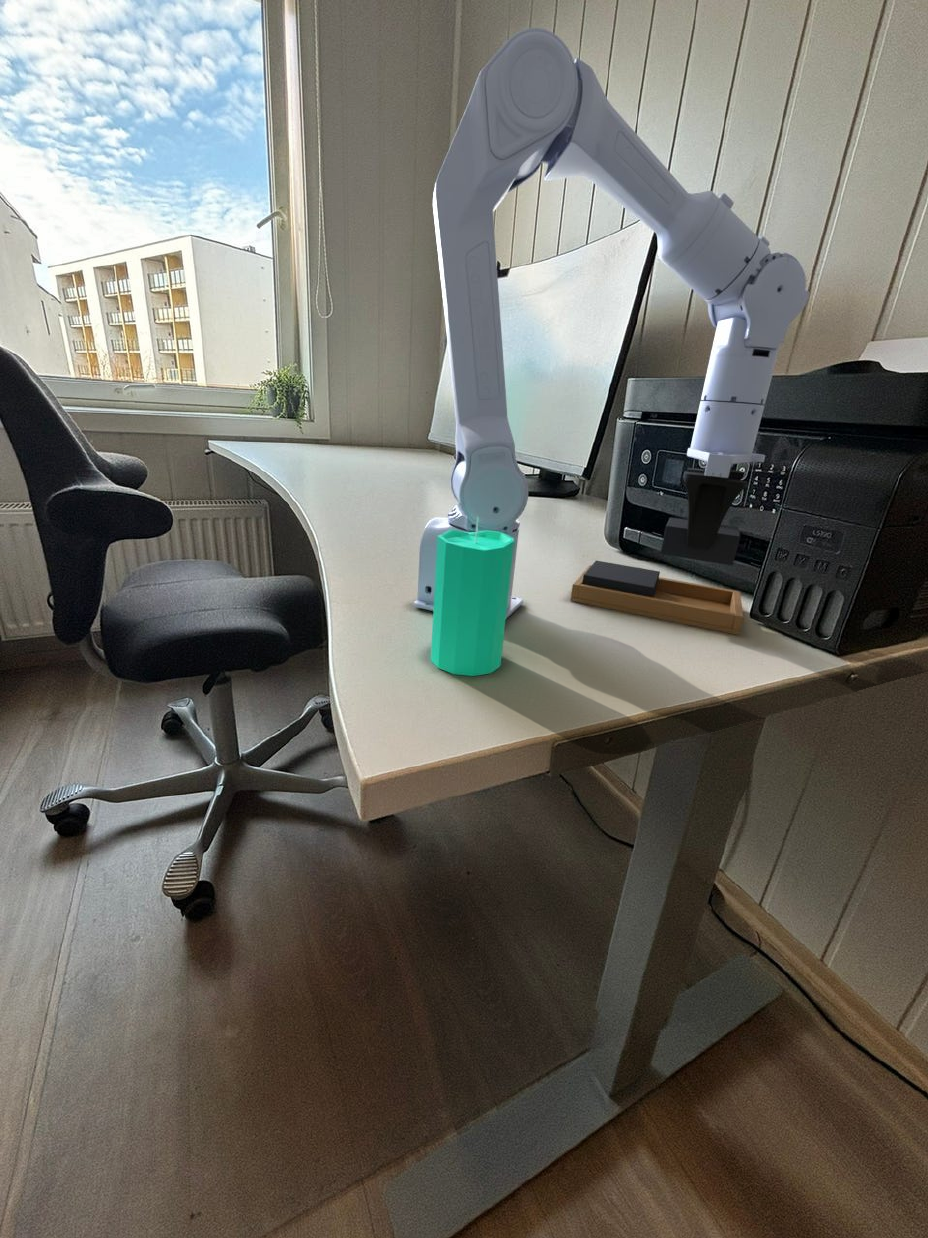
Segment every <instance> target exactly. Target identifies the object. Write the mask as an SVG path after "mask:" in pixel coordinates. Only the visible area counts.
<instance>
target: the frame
mask: <svg viewBox="0 0 928 1238" xmlns="http://www.w3.org/2000/svg"><path fill="white" fill-rule="evenodd" d="M592 565H593V564H589V565H588V566H587V568H585V570H584V571H583V572H582V573H581V574H580V576H579V577H578V578H577V579H576V580H575V581H574V582H573V584H572V587H571V593H570V599H569V601H570V602H574V603H579V604H584V605H589V606H594V607H599V608H604V609H609V610H614V611H619V612H625V613H628V614H634V615H637V616H643V617H647V618H648V617H649V618H654V619H658V620H663V621H668V622H673V623H678V624H681V625H682V624H683V625H688V626H692V627H697V628H702V629H708V630H711V631H712V630H713V631H718V632H722V633H727V634H731V635H732V634H733V635H737V636H739V635H740V632H741V628H742V625H743V621H744V618H745V617H744V611H743V609H744V608H743V603H742V597H741V592H740V591H738V590H735V589H734V590H733V589H728V588H723V587H717V586H713V585H712V586H711V585H705V584H699V583H694V582H690V581H683V580H677V579H673V578H666V577H660V576H659V579H658V584H657V588H656V592H655V595H654V598H653V597H647V596H642V595H637V594H632V593H626V592H621V591H616V590H611V589H605V588H600V587H595V586H590V585H584V584H582V582H583V575H584V574H585V573H586V572H587V570H588V569H589V568H590V567H591V566H592Z"/></svg>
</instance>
